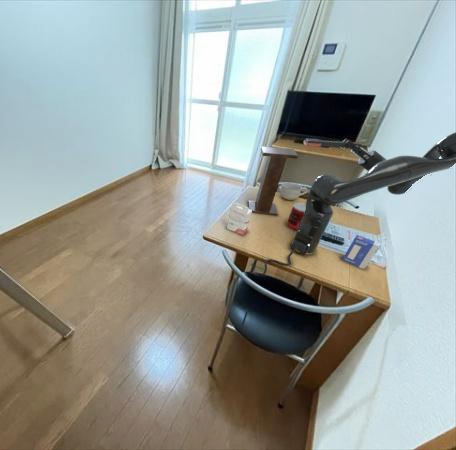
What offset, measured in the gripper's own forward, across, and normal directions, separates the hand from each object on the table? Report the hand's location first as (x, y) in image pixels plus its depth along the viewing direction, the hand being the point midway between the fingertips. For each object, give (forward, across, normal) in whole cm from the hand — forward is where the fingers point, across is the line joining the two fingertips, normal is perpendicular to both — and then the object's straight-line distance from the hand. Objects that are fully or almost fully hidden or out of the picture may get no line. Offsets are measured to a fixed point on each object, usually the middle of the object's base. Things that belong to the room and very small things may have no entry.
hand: (345, 141), depth 109 cm
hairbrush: (+4, 0, +5) cm, 6 cm away
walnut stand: (+4, 0, +46) cm, 46 cm away
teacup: (-12, -17, +38) cm, 43 cm away
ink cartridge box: (+16, +25, +54) cm, 61 cm away
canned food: (-9, +14, +40) cm, 43 cm away
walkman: (-24, +37, +31) cm, 54 cm away
